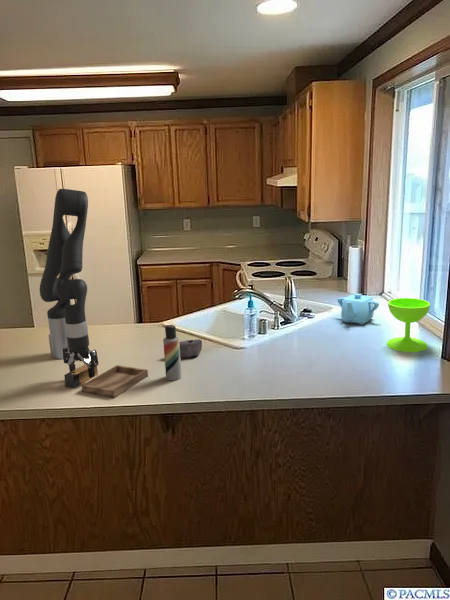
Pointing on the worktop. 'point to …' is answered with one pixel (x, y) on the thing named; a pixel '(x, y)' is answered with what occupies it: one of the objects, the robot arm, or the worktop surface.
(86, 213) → the robot arm
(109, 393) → the brown wooden tray
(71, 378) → the battery cell
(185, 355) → the perforated stone tool
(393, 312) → the wineglass
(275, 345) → the worktop surface
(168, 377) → the lotion bottle
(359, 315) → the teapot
